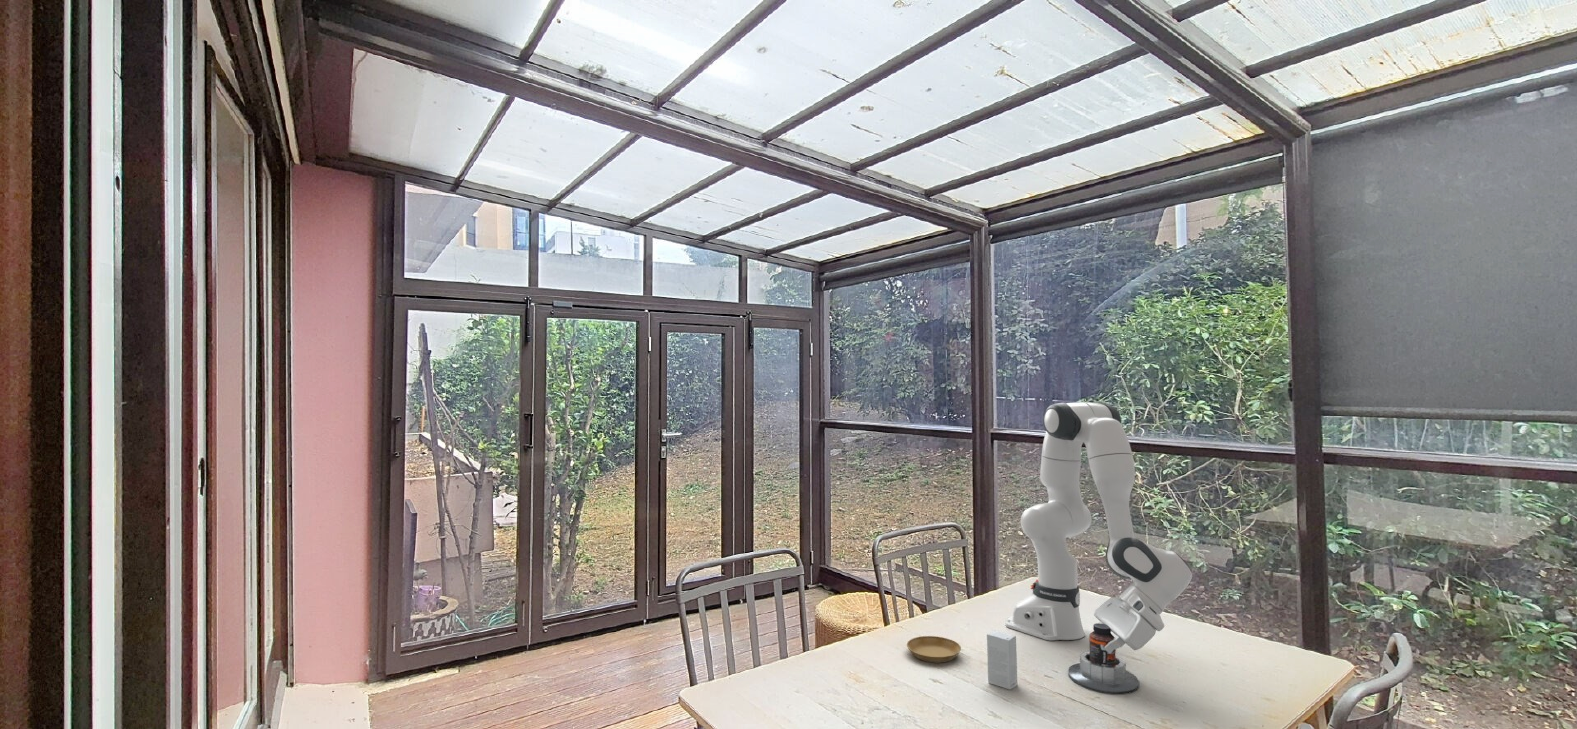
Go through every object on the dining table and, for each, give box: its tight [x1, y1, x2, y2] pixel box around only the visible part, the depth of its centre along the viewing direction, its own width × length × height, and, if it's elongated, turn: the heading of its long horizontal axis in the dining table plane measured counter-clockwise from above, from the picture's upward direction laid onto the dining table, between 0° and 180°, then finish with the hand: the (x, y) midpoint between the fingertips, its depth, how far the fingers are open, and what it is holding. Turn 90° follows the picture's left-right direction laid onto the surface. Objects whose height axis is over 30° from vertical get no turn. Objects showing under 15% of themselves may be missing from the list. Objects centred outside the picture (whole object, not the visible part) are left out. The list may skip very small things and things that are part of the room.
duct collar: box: [1067, 650, 1140, 695], centre depth 164 cm, size 16×16×5 cm
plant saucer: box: [906, 635, 962, 664], centre depth 180 cm, size 15×15×3 cm
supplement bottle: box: [1088, 622, 1117, 666], centre depth 164 cm, size 6×6×11 cm
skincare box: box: [986, 630, 1018, 690], centre depth 162 cm, size 6×4×12 cm
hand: (1099, 644), depth 164 cm, fingers closed on supplement bottle, 6 cm apart
